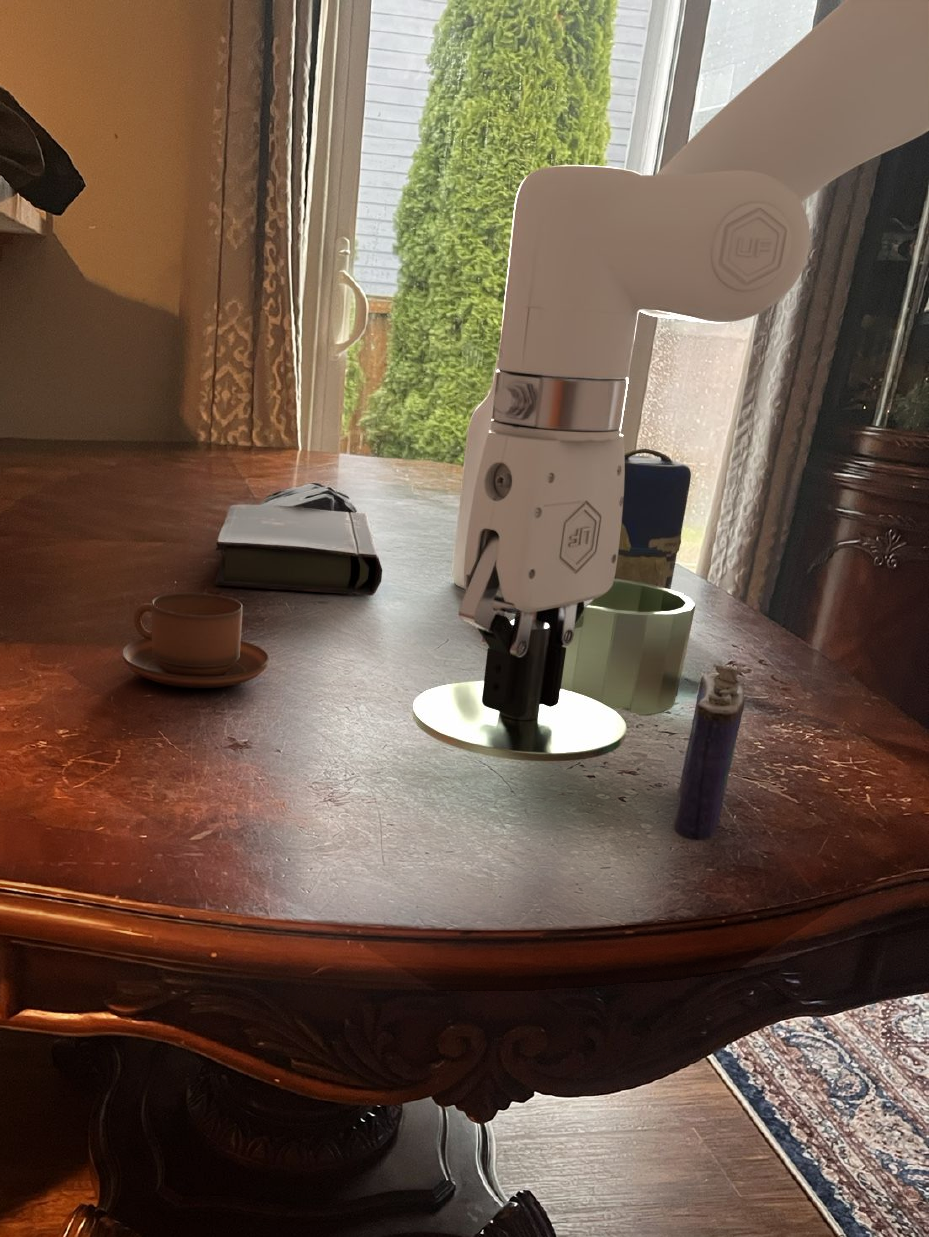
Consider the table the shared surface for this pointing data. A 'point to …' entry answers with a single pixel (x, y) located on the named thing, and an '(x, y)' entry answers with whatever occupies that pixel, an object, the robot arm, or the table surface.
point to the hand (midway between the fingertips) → (520, 703)
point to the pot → (630, 647)
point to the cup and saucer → (194, 643)
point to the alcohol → (471, 476)
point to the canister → (651, 517)
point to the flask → (709, 752)
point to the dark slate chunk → (312, 498)
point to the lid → (521, 718)
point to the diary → (298, 550)
